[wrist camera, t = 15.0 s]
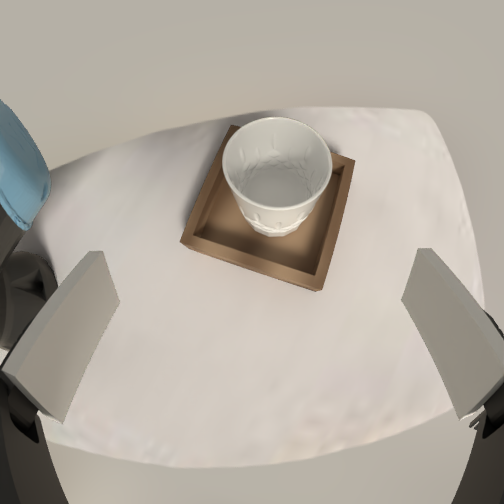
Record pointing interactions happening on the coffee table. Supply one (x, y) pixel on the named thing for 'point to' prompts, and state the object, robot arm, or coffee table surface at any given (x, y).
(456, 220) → the coffee table surface
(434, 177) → the coffee table surface
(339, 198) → the tray
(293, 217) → the white cup
